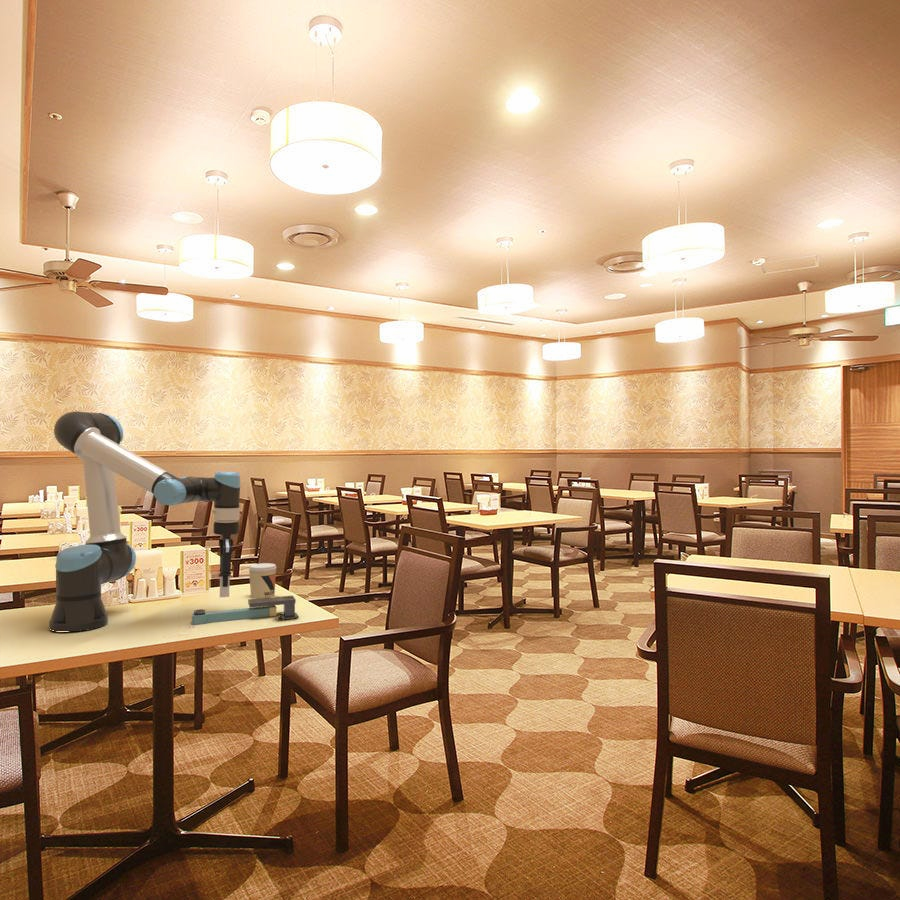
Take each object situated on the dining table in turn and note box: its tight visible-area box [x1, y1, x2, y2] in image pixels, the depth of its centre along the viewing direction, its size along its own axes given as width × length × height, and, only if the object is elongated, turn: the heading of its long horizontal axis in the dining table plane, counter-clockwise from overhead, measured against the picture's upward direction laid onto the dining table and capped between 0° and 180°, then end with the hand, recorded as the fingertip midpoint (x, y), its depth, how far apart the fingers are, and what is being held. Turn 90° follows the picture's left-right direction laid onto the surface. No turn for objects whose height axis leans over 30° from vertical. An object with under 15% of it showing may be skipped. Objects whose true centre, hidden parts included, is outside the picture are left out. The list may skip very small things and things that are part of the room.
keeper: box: [247, 595, 300, 621], centre depth 198 cm, size 14×6×6 cm, turn 113°
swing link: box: [191, 605, 278, 626], centre depth 194 cm, size 24×4×3 cm, turn 114°
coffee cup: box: [248, 562, 278, 599], centre depth 225 cm, size 9×9×12 cm
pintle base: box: [193, 608, 206, 615], centre depth 190 cm, size 10×10×5 cm
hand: (224, 596), depth 200 cm, fingers closed
